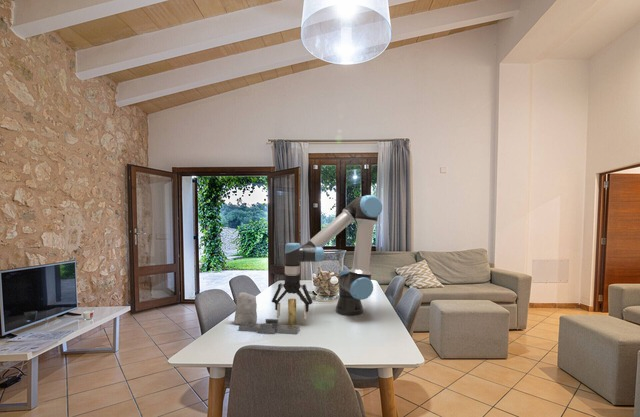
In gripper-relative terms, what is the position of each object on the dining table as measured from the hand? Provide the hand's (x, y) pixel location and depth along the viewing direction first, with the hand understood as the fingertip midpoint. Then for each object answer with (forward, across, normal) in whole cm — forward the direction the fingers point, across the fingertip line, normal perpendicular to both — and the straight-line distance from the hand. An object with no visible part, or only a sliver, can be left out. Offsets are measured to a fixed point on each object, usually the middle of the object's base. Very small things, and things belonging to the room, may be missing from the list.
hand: (291, 317), depth 158 cm
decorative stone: (+4, +23, +3) cm, 23 cm away
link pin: (+3, 0, 0) cm, 3 cm away
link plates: (+3, +8, +11) cm, 14 cm away
